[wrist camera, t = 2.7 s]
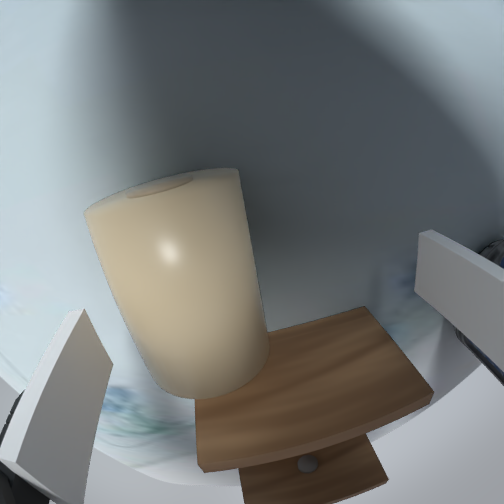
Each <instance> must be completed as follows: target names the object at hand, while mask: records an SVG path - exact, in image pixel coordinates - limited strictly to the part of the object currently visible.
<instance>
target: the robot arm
mask: <svg viewBox="0 0 504 504" xmlns="http://www.w3.org/2000/svg"><path fill="white" fill-rule="evenodd" d="M414 292H416V293H417V294H418V295H419V296H420V297H422V298H423V299H424V300H425V301H426V302H427V303H429V304H430V305H431V306H432V307H433V308H435V309H436V310H437V311H438V312H439V313H440V314H441V315H443V316H444V317H445V318H446V319H447V320H448V321H449V322H451V323H452V324H453V325H454V326H455V327H456V328H457V329H458V330H460V331H461V332H462V333H463V334H464V335H465V336H466V337H467V338H468V339H469V340H471V341H472V342H473V343H474V344H475V345H476V346H477V347H478V348H479V349H480V350H481V351H482V352H483V353H484V354H485V355H487V356H488V357H489V358H490V359H491V360H492V361H493V362H494V363H495V364H496V365H497V366H498V367H499V368H500V369H501V370H502V371H503V372H504V269H503V268H501V267H500V266H498V265H496V264H495V263H493V262H491V261H489V260H488V259H486V258H484V257H482V256H481V255H479V254H477V253H475V252H474V251H472V250H470V249H468V248H466V247H465V246H463V245H461V244H459V243H457V242H455V241H453V240H451V239H450V238H448V237H446V236H444V235H442V234H440V233H438V232H436V231H434V230H432V229H431V230H428V231H424V232H420V233H419V240H418V256H417V268H416V278H415V288H414ZM112 367H113V363H112V361H111V359H110V358H109V356H108V354H107V352H106V350H105V349H104V347H103V345H102V343H101V341H100V339H99V337H98V335H97V333H96V331H95V329H94V327H93V325H92V323H91V321H90V319H89V317H88V315H87V313H86V311H85V309H79V310H74V311H68V313H67V315H66V316H65V318H64V319H63V321H62V323H61V324H60V326H59V328H58V329H57V331H56V333H55V334H54V336H53V338H52V340H51V341H50V343H49V345H48V347H47V348H46V350H45V352H44V354H43V356H42V358H41V359H40V361H39V363H38V365H37V367H36V369H35V371H34V373H33V375H32V376H31V378H30V380H29V382H28V384H27V386H26V389H25V390H24V391H23V392H22V393H21V394H20V395H19V397H18V398H17V399H16V400H15V402H14V405H13V407H12V409H11V411H10V413H11V414H9V416H8V418H7V420H6V424H5V425H4V427H3V430H2V432H1V434H0V504H49V500H52V501H53V502H55V503H56V504H84V496H85V489H86V483H87V476H88V470H89V465H90V459H91V454H92V448H93V444H94V439H95V434H96V430H97V425H98V421H99V417H100V412H101V408H102V404H103V400H104V396H105V392H106V389H107V385H108V381H109V377H110V374H111V370H112Z"/></svg>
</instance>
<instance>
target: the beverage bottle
mask: <svg viewBox="0 0 504 504" xmlns="http://www.w3.org/2000/svg"><path fill="white" fill-rule="evenodd" d="M480 255H481V256H482V257H484V258H486V259H488V260H489V261H491V262H493V263H495V264H496V265H498V266H500V267H501V268H503V269H504V240H498V241H496V242H493V243H492V244H490V245H489V248H486V249H484V250H483V251H482V252H481V254H480ZM454 328H455V331H456V335H457V337H458V339H459V340H460V341H461V342H462V343H463V344H464V345H465V346H466V347H467V348H468V349H469V350H470V351H471V352H472V353H473V354H474V355H475V356H476V357H477V358H478V359H479V360H480V361H481V362H482V363H483V364H484V365H485V366H486V367H487V368H488V370H489V371H490V372H491V373H492V374H493V375H494V376H495V377H496V378H497V379H498V380H499V381H500V382H501V384H502V385H503V386H504V372H503V371H502V370H501V369H500V368H499V367H498V366H497V365H496V364H495V363H494V362H493V361H492V360H491V359H490V358H489V357H488V356H487V355H485V354H484V353H483V352H482V351H481V350H480V349H479V348H478V347H477V346H476V345H475V344H474V343H473V342H472V341H471V340H469V339H468V338H467V337H466V336H465V335H464V334H463V333H462V332H461V331H460V330H458V329H457V328H456V327H455V326H454Z"/></svg>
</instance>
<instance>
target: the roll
mask: <svg viewBox="0 0 504 504" xmlns="http://www.w3.org/2000/svg"><path fill="white" fill-rule="evenodd" d="M84 216H85V219H86V222H87V226H88V229H89V232H90V235H91V238H92V241H93V244H94V247H95V250H96V252H97V255H98V258H99V261H100V263H101V266H102V269H103V271H104V274H105V277H106V279H107V282H108V284H109V287H110V289H111V292H112V294H113V296H114V299H115V301H116V303H117V306H118V308H119V310H120V313H121V315H122V317H123V319H124V322H125V324H126V326H127V328H128V330H129V332H130V334H131V336H132V339H133V341H134V343H135V345H136V347H137V349H138V351H139V353H140V355H141V357H142V359H143V360H144V362H145V364H146V366H147V368H148V370H149V372H150V374H151V376H152V377H153V379H154V381H155V382H156V383H157V385H158V386H159V387H161V388H162V389H163V390H165V391H166V392H168V393H170V394H172V395H175V396H178V397H181V398H187V399H207V398H213V397H218V396H221V395H225V394H227V393H230V392H232V391H234V390H236V389H238V388H240V387H242V386H243V385H245V384H246V383H248V382H249V381H250V380H251V379H253V378H254V377H255V376H256V375H257V374H258V372H259V371H260V370H261V369H262V367H263V366H264V364H265V362H266V360H267V358H268V354H269V339H268V334H267V328H266V322H265V317H264V311H263V305H262V300H261V294H260V289H259V283H258V277H257V272H256V266H255V261H254V255H253V249H252V244H251V238H250V233H249V227H248V221H247V216H246V210H245V205H244V199H243V194H242V188H241V182H240V177H239V171H238V170H237V169H235V168H213V169H204V170H197V171H191V172H186V173H181V174H177V175H173V176H168V177H164V178H160V179H156V180H153V181H149V182H146V183H143V184H140V185H137V186H134V187H131V188H128V189H125V190H123V191H120V192H118V193H115V194H113V195H111V196H108V197H106V198H104V199H102V200H100V201H98V202H96V203H95V204H93V205H91V206H90V207H89V208H87V209H86V210H85V211H84Z"/></svg>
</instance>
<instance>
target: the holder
mask: <svg viewBox="0 0 504 504" xmlns="http://www.w3.org/2000/svg"><path fill="white" fill-rule="evenodd" d="M267 334H268V339H269V354H268V358H267V360H266V362H265V364H264V366H263V367H262V369H261V370H260V371H259V372H258V374H257V375H256V376H255V377H254V378H253V379H251V380H250V381H249V382H248V383H246V384H245V385H243V386H242V387H240V388H238V389H236V390H234V391H232V392H230V393H227V394H225V395H221V396H218V397H213V398H207V399H195V423H196V445H197V462H198V465H199V467H200V468H201V469H202V470H203V472H204V473H207V472H216V471H223V470H230V469H237V468H238V469H239V475H240V481H241V487H242V492H243V498H244V503H245V504H333V503H337V502H339V501H342V500H345V499H348V498H351V497H353V496H356V495H359V494H361V493H364V492H366V491H369V490H371V489H374V488H376V487H379V486H381V485H383V484H385V483H386V482H387V481H388V480H389V479H388V477H387V475H386V473H385V471H384V469H383V467H382V465H381V463H380V461H379V459H378V457H377V455H376V453H375V451H374V449H373V447H372V445H371V443H370V441H369V439H368V437H367V435H366V433H367V432H370V431H372V430H375V429H377V428H380V427H382V426H384V425H387V424H389V423H391V422H393V421H396V420H398V419H400V418H402V417H404V416H406V415H408V414H410V413H412V412H414V411H416V410H418V409H420V408H422V407H424V406H426V405H428V404H429V403H430V401H431V398H432V396H433V394H434V391H433V390H432V388H431V387H430V386H429V384H428V383H427V382H426V381H425V379H424V378H423V377H422V375H421V374H420V373H419V372H418V370H417V369H416V368H415V367H414V365H413V364H412V363H411V361H410V360H409V359H408V358H407V356H406V355H405V354H404V353H403V352H402V350H401V349H400V348H399V347H398V345H397V344H396V343H395V342H394V340H393V339H392V338H391V337H390V336H389V334H388V333H387V332H386V331H385V330H384V328H383V327H382V326H381V325H380V324H379V322H378V321H377V320H376V319H375V318H374V316H373V315H372V314H371V313H370V312H369V311H368V309H367V308H366V307H365V306H363V307H360V308H357V309H353V310H350V311H347V312H343V313H340V314H337V315H333V316H330V317H326V318H322V319H319V320H315V321H311V322H308V323H304V324H300V325H296V326H292V327H288V328H284V329H280V330H276V331H272V332H268V333H267Z"/></svg>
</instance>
